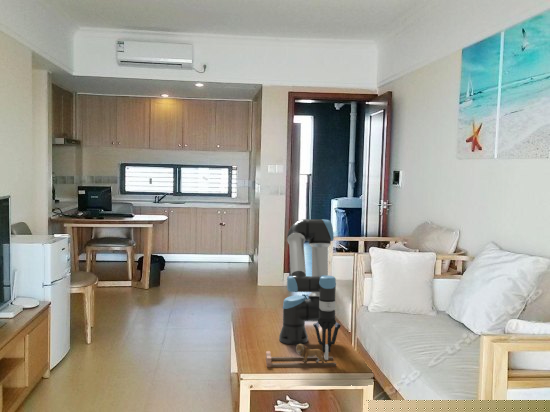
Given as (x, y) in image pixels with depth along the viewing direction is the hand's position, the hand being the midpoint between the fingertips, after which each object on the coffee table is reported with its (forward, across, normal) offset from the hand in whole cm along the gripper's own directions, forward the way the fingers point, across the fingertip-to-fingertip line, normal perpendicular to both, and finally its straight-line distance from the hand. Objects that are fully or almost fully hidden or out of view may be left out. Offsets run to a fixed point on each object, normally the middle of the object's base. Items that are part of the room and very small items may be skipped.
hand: (326, 358), depth 250 cm
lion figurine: (+2, -8, 0) cm, 8 cm away
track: (+2, -11, 0) cm, 11 cm away
